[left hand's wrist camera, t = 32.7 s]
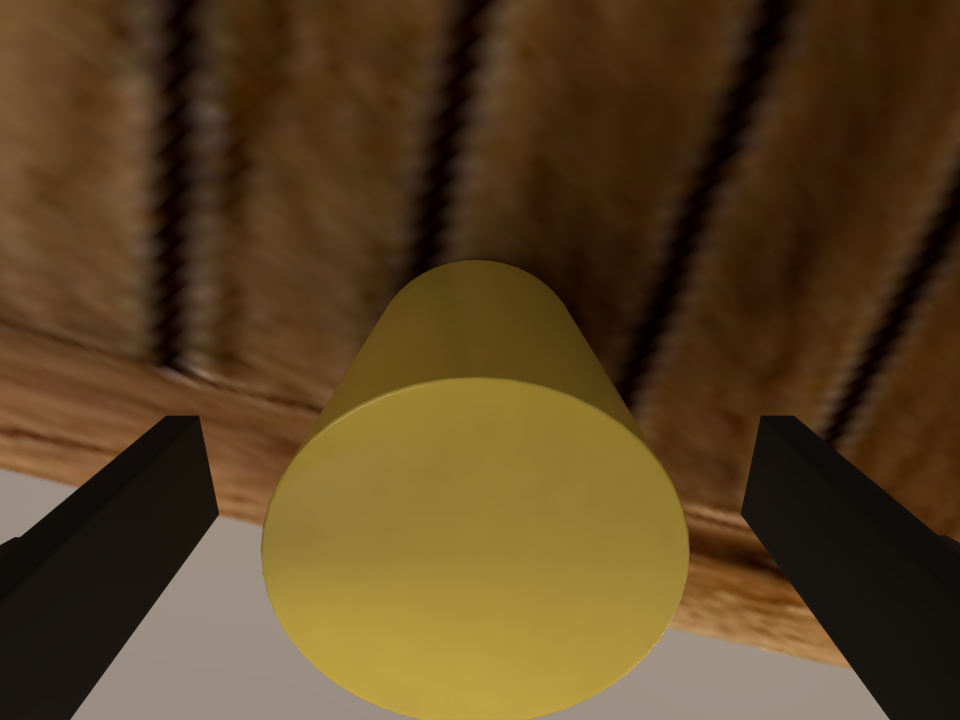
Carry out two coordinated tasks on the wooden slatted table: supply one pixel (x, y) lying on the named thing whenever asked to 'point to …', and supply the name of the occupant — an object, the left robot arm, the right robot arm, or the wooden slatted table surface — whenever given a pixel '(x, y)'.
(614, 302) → the wooden slatted table surface
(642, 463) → the canister
